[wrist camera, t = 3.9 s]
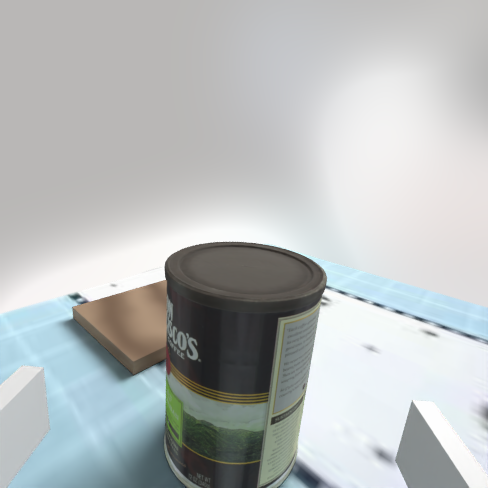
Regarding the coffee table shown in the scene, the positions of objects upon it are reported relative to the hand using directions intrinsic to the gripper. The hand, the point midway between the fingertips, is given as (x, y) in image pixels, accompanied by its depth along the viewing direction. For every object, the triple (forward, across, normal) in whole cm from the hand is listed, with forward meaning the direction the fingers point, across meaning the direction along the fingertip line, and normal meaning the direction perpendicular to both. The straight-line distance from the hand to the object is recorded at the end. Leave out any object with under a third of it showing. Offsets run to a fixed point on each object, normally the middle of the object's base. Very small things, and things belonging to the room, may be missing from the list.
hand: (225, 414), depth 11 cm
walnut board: (+28, -8, -12) cm, 31 cm away
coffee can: (+10, 0, -12) cm, 16 cm away
